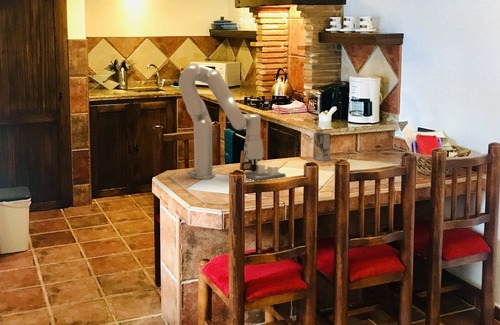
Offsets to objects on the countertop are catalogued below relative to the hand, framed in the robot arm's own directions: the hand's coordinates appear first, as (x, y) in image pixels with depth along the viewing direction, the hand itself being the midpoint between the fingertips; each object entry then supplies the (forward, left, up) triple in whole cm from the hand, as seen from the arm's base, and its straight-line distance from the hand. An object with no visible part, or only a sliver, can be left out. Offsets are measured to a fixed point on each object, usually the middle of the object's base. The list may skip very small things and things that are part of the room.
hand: (253, 171), depth 353 cm
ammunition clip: (+6, +14, -3) cm, 15 cm away
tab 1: (+4, 0, -2) cm, 5 cm away
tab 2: (+8, -7, -2) cm, 11 cm away
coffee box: (+59, +14, -3) cm, 60 cm away
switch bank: (+4, -3, -3) cm, 6 cm away
